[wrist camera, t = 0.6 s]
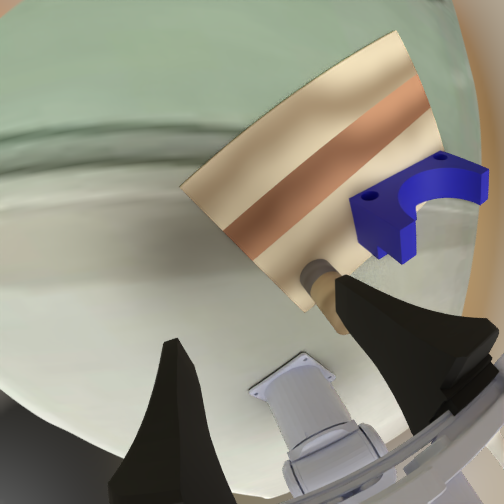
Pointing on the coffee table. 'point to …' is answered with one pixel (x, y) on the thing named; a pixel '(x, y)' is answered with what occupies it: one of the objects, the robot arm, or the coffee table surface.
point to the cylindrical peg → (323, 290)
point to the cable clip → (412, 202)
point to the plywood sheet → (318, 164)
